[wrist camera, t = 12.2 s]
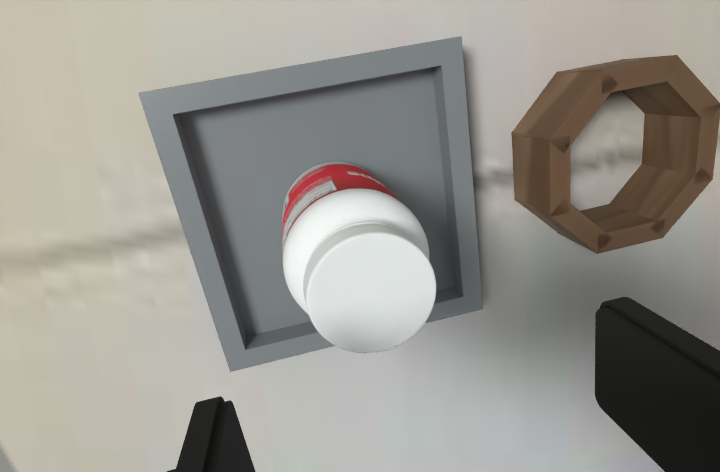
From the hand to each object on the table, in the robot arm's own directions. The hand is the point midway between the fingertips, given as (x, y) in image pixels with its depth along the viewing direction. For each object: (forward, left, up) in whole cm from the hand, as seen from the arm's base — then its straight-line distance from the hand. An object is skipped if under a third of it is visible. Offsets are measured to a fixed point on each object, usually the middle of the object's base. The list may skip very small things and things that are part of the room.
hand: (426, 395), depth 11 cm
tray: (0, 0, -17) cm, 17 cm away
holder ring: (0, -17, -17) cm, 24 cm away
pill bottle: (0, 0, -16) cm, 16 cm away
